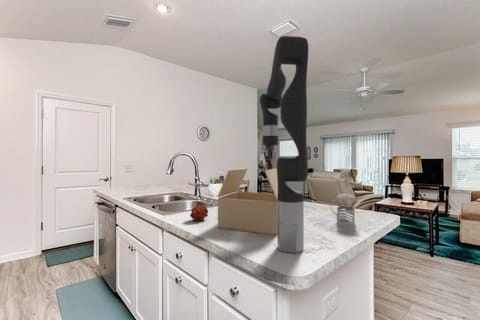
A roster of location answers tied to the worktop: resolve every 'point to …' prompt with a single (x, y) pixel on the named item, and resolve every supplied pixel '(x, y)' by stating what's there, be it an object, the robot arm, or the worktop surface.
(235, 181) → the flap left
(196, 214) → the dragon fruit
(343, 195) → the french press
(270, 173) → the flap right
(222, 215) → the carton
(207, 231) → the worktop surface
